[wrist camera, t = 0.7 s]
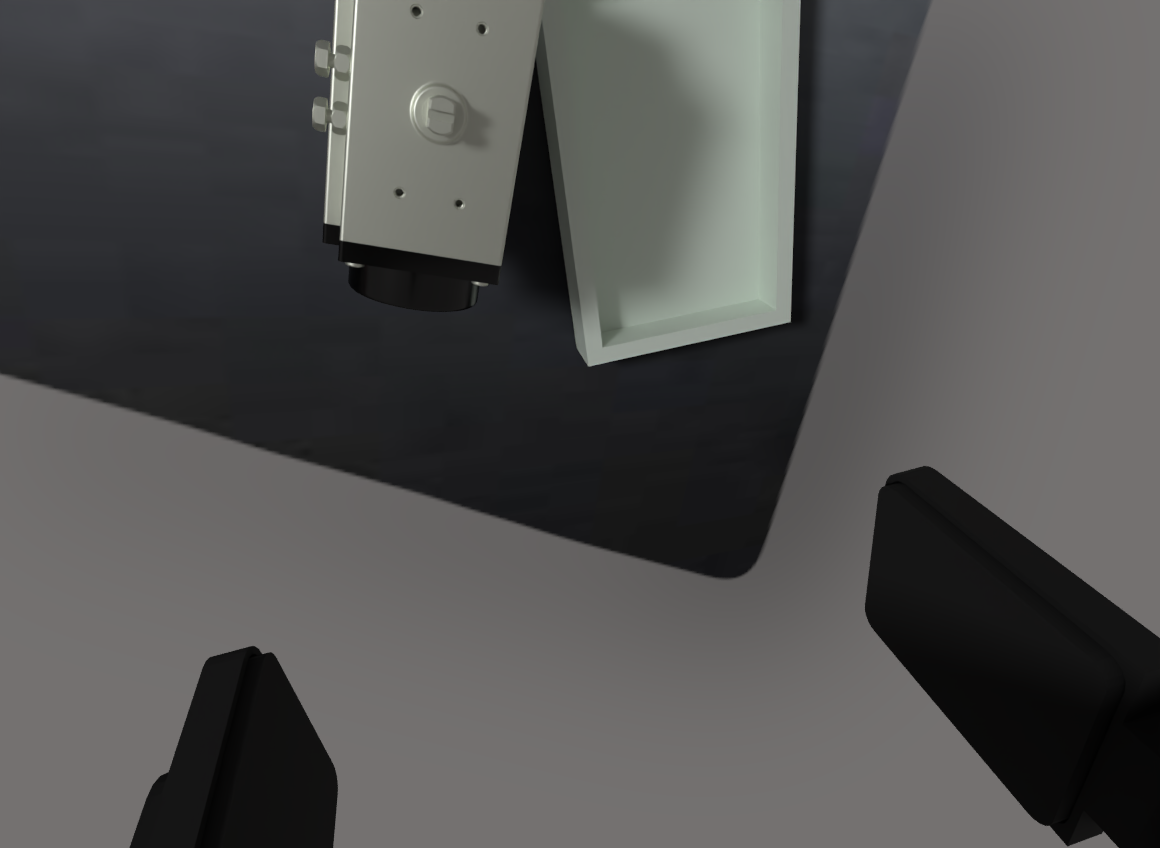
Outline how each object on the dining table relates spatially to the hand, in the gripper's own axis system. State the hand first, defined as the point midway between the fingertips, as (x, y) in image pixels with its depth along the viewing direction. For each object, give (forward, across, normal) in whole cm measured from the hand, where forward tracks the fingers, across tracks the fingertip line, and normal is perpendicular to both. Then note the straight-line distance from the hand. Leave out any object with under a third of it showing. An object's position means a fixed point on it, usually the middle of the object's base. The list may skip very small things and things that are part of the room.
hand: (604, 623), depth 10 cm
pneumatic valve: (+24, +1, -6) cm, 25 cm away
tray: (+24, -10, -2) cm, 26 cm away
